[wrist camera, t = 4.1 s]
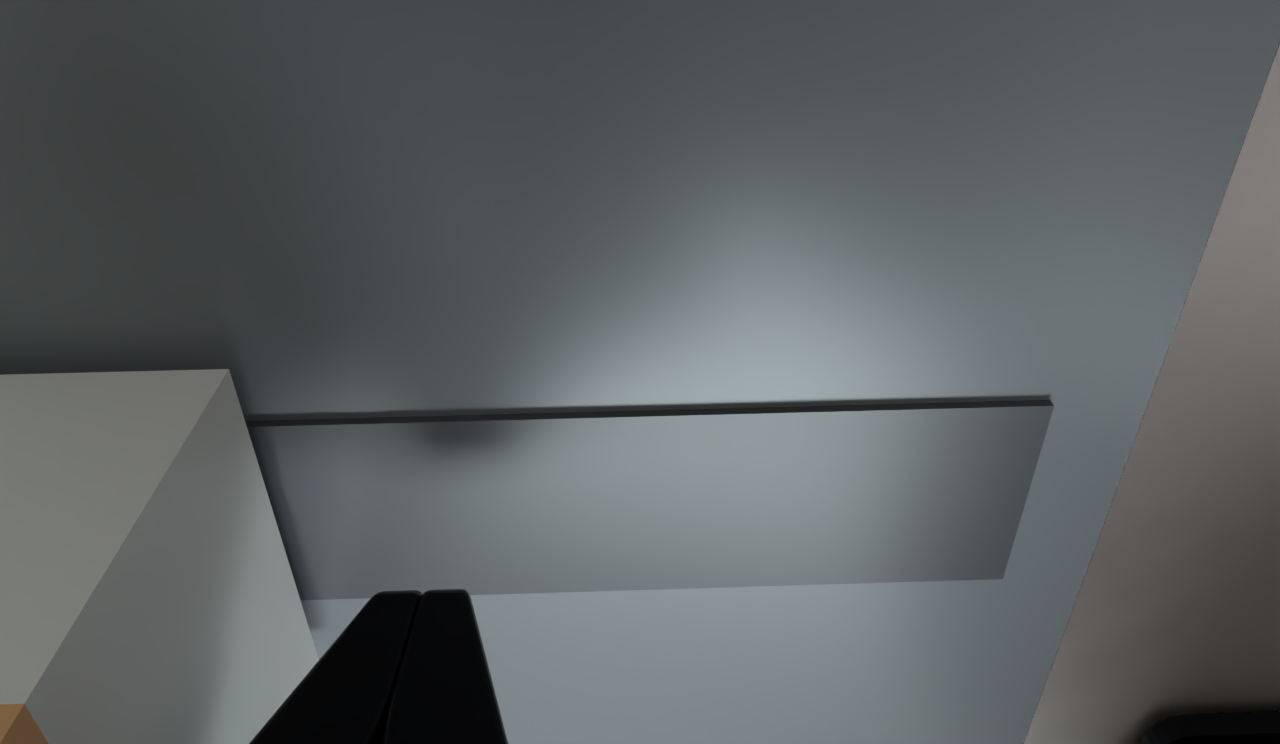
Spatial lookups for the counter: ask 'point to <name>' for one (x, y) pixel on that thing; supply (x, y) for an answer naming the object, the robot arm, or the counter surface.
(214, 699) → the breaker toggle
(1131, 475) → the counter surface
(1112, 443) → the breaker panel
